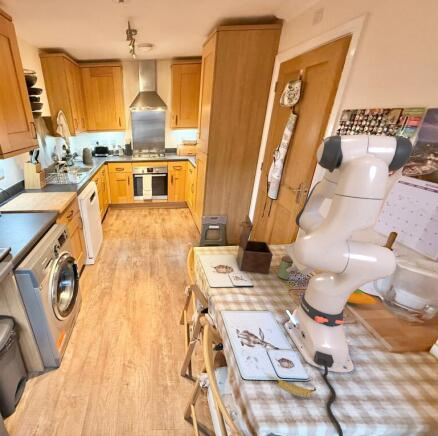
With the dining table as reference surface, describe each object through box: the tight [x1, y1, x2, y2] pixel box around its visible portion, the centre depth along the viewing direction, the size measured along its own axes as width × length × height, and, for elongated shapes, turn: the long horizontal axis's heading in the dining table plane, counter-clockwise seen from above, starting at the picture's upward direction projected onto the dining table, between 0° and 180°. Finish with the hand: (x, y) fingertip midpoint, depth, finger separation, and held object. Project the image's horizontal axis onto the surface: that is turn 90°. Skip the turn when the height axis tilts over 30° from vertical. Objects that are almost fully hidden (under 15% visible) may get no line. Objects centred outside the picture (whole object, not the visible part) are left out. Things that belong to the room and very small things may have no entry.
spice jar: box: [277, 255, 294, 280], centre depth 112 cm, size 5×5×10 cm
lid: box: [238, 214, 254, 251], centre depth 119 cm, size 14×13×5 cm
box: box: [236, 239, 273, 275], centre depth 123 cm, size 14×13×12 cm
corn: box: [345, 289, 378, 306], centre depth 99 cm, size 7×8×20 cm
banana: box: [276, 379, 317, 398], centre depth 67 cm, size 10×2×4 cm, turn 77°
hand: (284, 266), depth 112 cm, fingers closed on spice jar, 5 cm apart
